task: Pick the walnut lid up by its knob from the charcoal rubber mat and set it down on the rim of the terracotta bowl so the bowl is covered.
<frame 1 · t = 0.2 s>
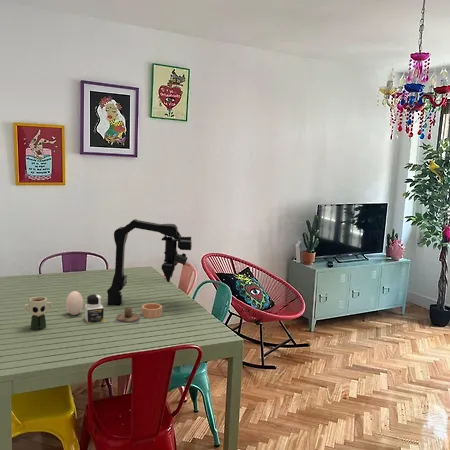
hand: (169, 279, 231), 14 cm above the table, tool pointing down, fingers open, 9 cm apart
character mug: (38, 328, 198), on the table
mat: (128, 319, 212), on the table
lid: (128, 318, 212), point 1 cm above the table, touching mat
medicine bottle: (93, 321, 209), on the table
egg: (74, 315, 216), on the table
bowl: (151, 315, 219), on the table
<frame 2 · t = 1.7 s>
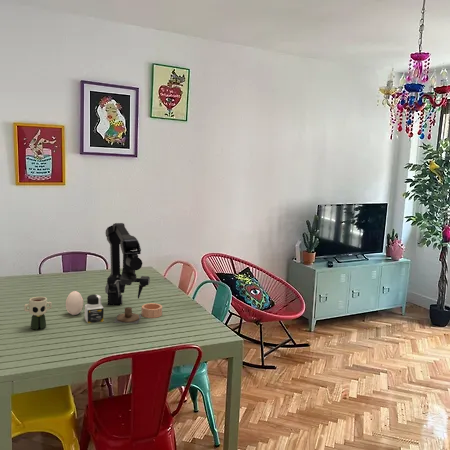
hand: (128, 297, 211), 11 cm above the table, tool pointing down, fingers open, 9 cm apart
nothing on the table moved.
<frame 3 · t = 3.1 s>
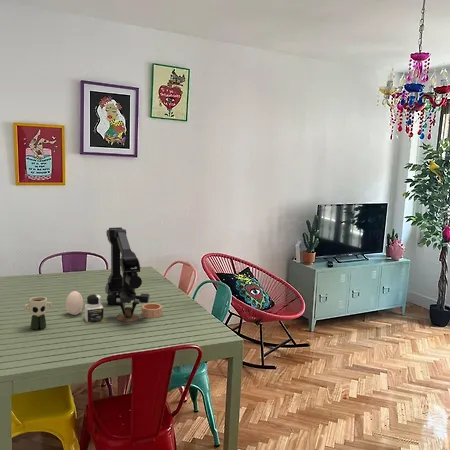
hand: (128, 315, 212), 2 cm above the table, tool pointing down, fingers closed on lid, 3 cm apart
lid: (128, 318, 212), point 1 cm above the table, touching gripper, mat
everything else where it was.
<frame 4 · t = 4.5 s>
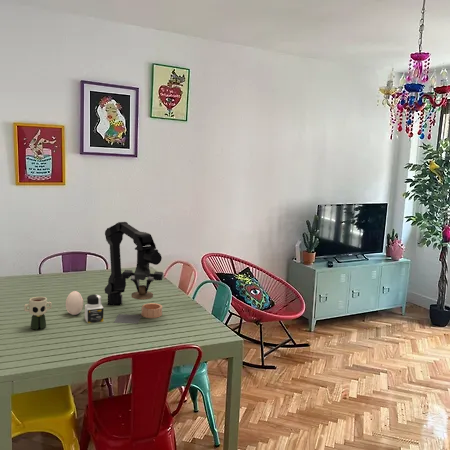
hand: (142, 292, 214), 12 cm above the table, tool pointing down, fingers closed on lid, 3 cm apart
lid: (142, 296, 215), point 10 cm above the table, touching gripper
everything else where it was.
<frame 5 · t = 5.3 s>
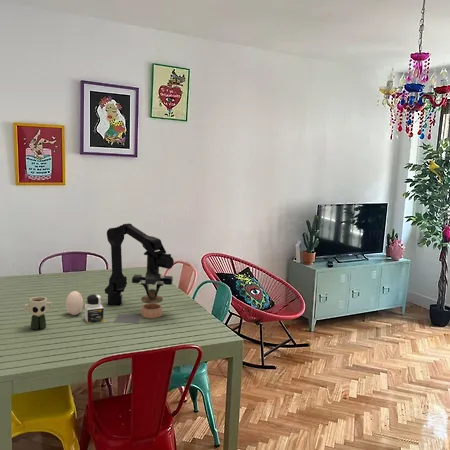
hand: (152, 296, 218), 9 cm above the table, tool pointing down, fingers closed on lid, 3 cm apart
lid: (152, 300, 218), point 8 cm above the table, touching gripper
everything else where it was.
when the fingers open (7 cm above the table, at t = 5.9 s): lid drops 1 cm, resting on bowl.
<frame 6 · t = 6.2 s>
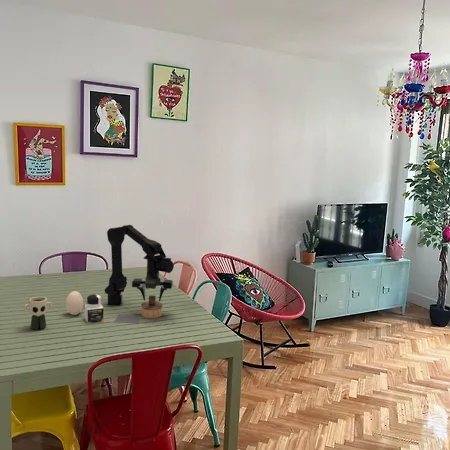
hand: (152, 300, 218), 7 cm above the table, tool pointing down, fingers open, 7 cm apart
lid: (151, 306, 219), point 4 cm above the table, touching bowl
everything else where it was.
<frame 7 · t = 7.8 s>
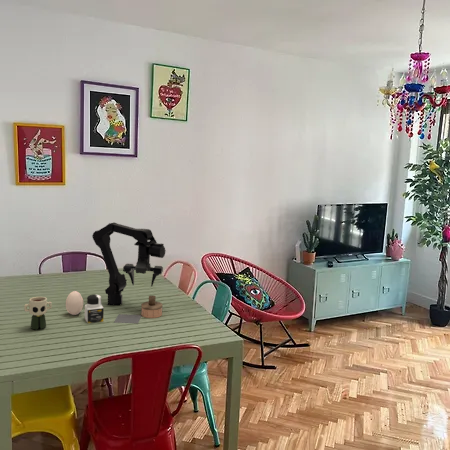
hand: (142, 285, 226), 12 cm above the table, tool pointing down, fingers open, 9 cm apart
nothing on the table moved.
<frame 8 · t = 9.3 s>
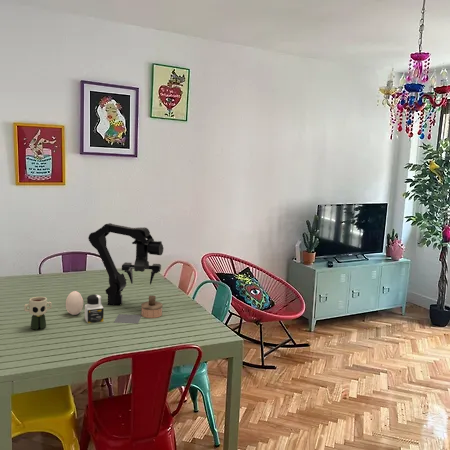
hand: (141, 283, 227), 13 cm above the table, tool pointing down, fingers open, 9 cm apart
nothing on the table moved.
at the end: lid 0.1 cm off-centre on the bowl, point 4.5 cm above the bowl's base; lid tilted 0°; the gripper is holding nothing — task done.
